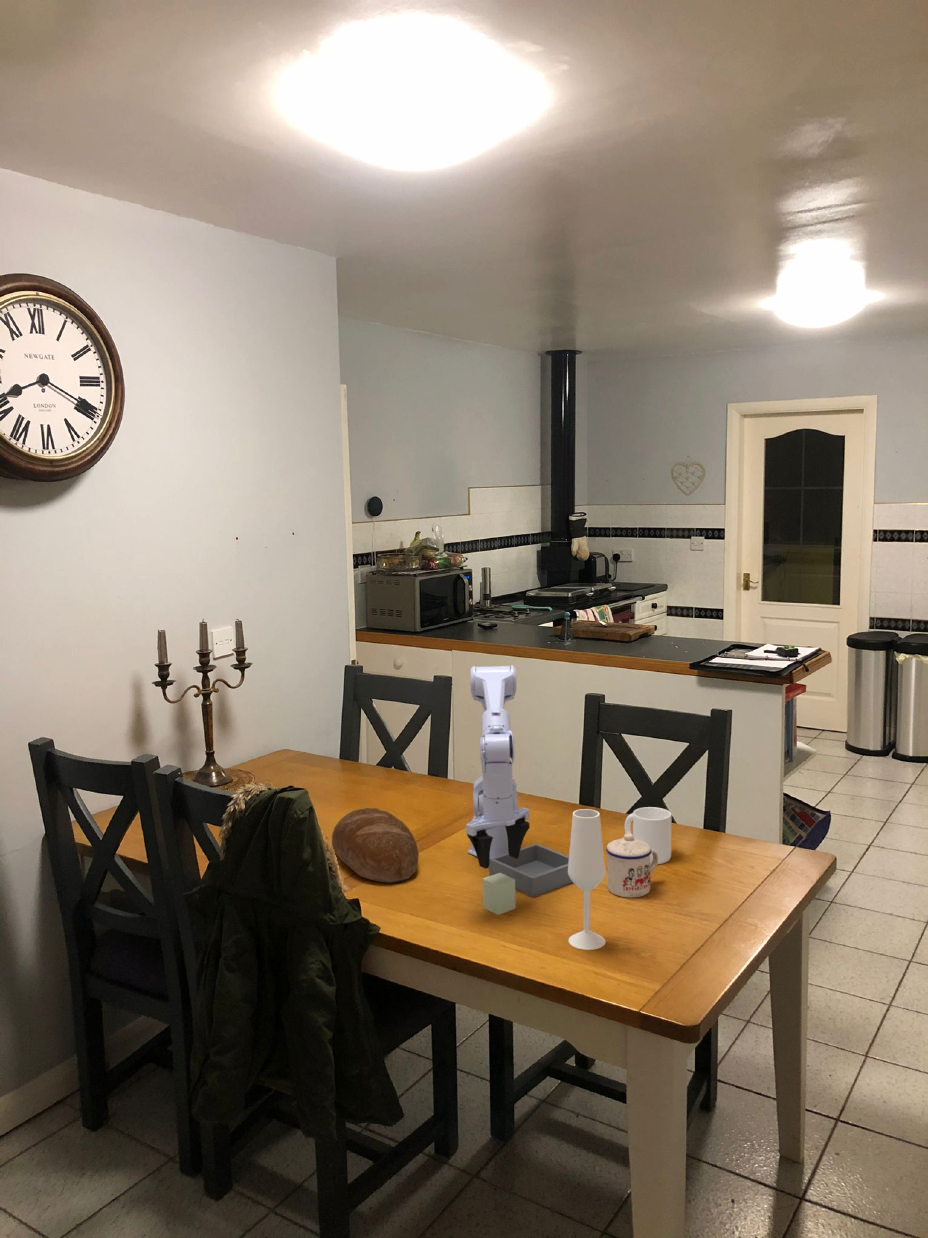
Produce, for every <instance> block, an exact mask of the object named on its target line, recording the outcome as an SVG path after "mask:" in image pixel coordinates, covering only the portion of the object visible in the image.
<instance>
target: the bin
mask: <svg viewBox="0 0 928 1238" xmlns="http://www.w3.org/2000/svg"><path fill="white" fill-rule="evenodd" d="M568 863H569V855H566V854H564V853H562V852H559V851H557V850H554V849H552V848H549V847H546V846H544V845H542V844H539V843H537V842H536V843H533V844H531V845H527V846H525V847H522V848H521V849H520V853H519V857H518V858H517V859H515V858H513V857H511V856H509V853H506V854H503V855H500V856H497V857H494V858H491V859H490V863H489V868H488V870H489V876H492V875H495V874H498V873H502V874H504V875H506V876H508V877H511V878H513V879H515V891H516V890H517V892H521V893H523V894H524V895H527V896H528V897H531V898H536V897H538V896H541V895H543V894H545V893H549V892H551V891H553V890H556V889H559V888H561V887H564V886H567V885H569V884H572V883H573V882H572V880H571V879H570V877H569V875H568ZM573 884H574V883H573Z"/></svg>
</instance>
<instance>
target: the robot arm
mask: <svg viewBox="0 0 928 1238" xmlns="http://www.w3.org/2000/svg"><path fill="white" fill-rule="evenodd" d="M516 692H517V669H516V667H515V665H502V666H499V665H495V666H494V665H493V666H476V665H473V666H472V667H471V668H470V694H471V698H472V700H473V701H476V702H479V703H480V704H481V706H482V708H483V713H482V714H481V736H480V738H479V751H480V752H479V756H480V757H479V760H480V763H481V772H482V774H481V776H479V777H478V778H477V779H475V781H474V783H473V792H472V793H473V794H472V799H473V803H472V804H473V815H474V816H473V818H472V819H471V821H470V822H469V823H465V829H466V831H465V832H466V833H465V834H466V836H467V838H468V839H469V841H470V849H468V850H467V853H468V854H471V855H473V856H474V857H476V858H477V862H478V865H479V867H481V868H482V869H486V870H487V869H489V863H490V859H491V858H494V857H497V856H500V855H503V854H506V853H509V856H511V857H513V858H515V859H517V858H518V857H519V853H520V849H521V847H522V844H523V841H524V838H525V836H526V834H527V832H528V831H529V829H530V827H531V826H530V822H529V821H527V820H529V819H530V809H529V808H526V807H518V790H517V783H516V782H515V779H513V763H514V761H515V740H514V735H513V731H512V730H511V718H510V714H509V712H508V711H507V710H506V709H505V705H506V702H508V701H511V700H514V698H515V696H516ZM510 759H511V760H510Z"/></svg>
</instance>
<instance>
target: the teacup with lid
mask: <svg viewBox="0 0 928 1238" xmlns="http://www.w3.org/2000/svg"><path fill="white" fill-rule="evenodd" d="M605 851H606V852H607V855H606V856H607V862H606V863H607V866H606V868H607V870H606V871H607V874H606V875H607V881H606V882H607V885H606V886H607V889H608V891H609V892H610V893H612V894H613V895H616V896H618V897H621V898H632V899H633V898H639V897H644V896H646V895H647V894H649V892H650V891H651V874H652V873H653V872H654V871H655V870H656V868H657V865H658V864H657V863H658V854H657V852H656V851H654V850H652V849H651V847H650V846H649V845H648V844H647V843H646V842H643V841H640V840H638V839H636V838H634V836H633V833H632V834H630V833H627V834H626V833H625V834H624V835H623V837H622V838H619V839H615V840H612V841H610V842H609V843H608V844H607V845H606V848H605ZM650 854H653V861H652V864H650Z"/></svg>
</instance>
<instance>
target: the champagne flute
mask: <svg viewBox="0 0 928 1238" xmlns="http://www.w3.org/2000/svg"><path fill="white" fill-rule="evenodd" d="M571 818H572V819H571V829H570V831H571V832H570V841H569V842H570V843H569V852H568V853H569V855H568V856H569V863H568V875H569V877H570V879H571V880H572V882H573V884H574V885H575V886H576V887H577V888H579V890H580V891H581V890H582V891H583V893H582V895H583V900H582V901H583V930H582V931H579V932H577V933H574V934H571V936H569V937H568V944H570V946H572V947H574V948H575V949H579V950H586V951H592V950H597V949H600V948H602V947H604V946H605V944H606V939H605V938H604V937H603V936H602V935H599V934H598V933H595V932H593V931H592V930H591V891H592V890H594V889H595V888H596V887H598V886H599V885H600V884H601V883H602V881H603V880H604V878H605V876H606V866H605V855H604V847H603V836H602V835H603V834H602V825H601V823H602V822H601V814H600V812H599V811H597V810H595V809H590V808H589V809H588V808H585V809H584V808H583V809H582V808H580V809H577V810H574V811H573V812H572V817H571Z"/></svg>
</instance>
